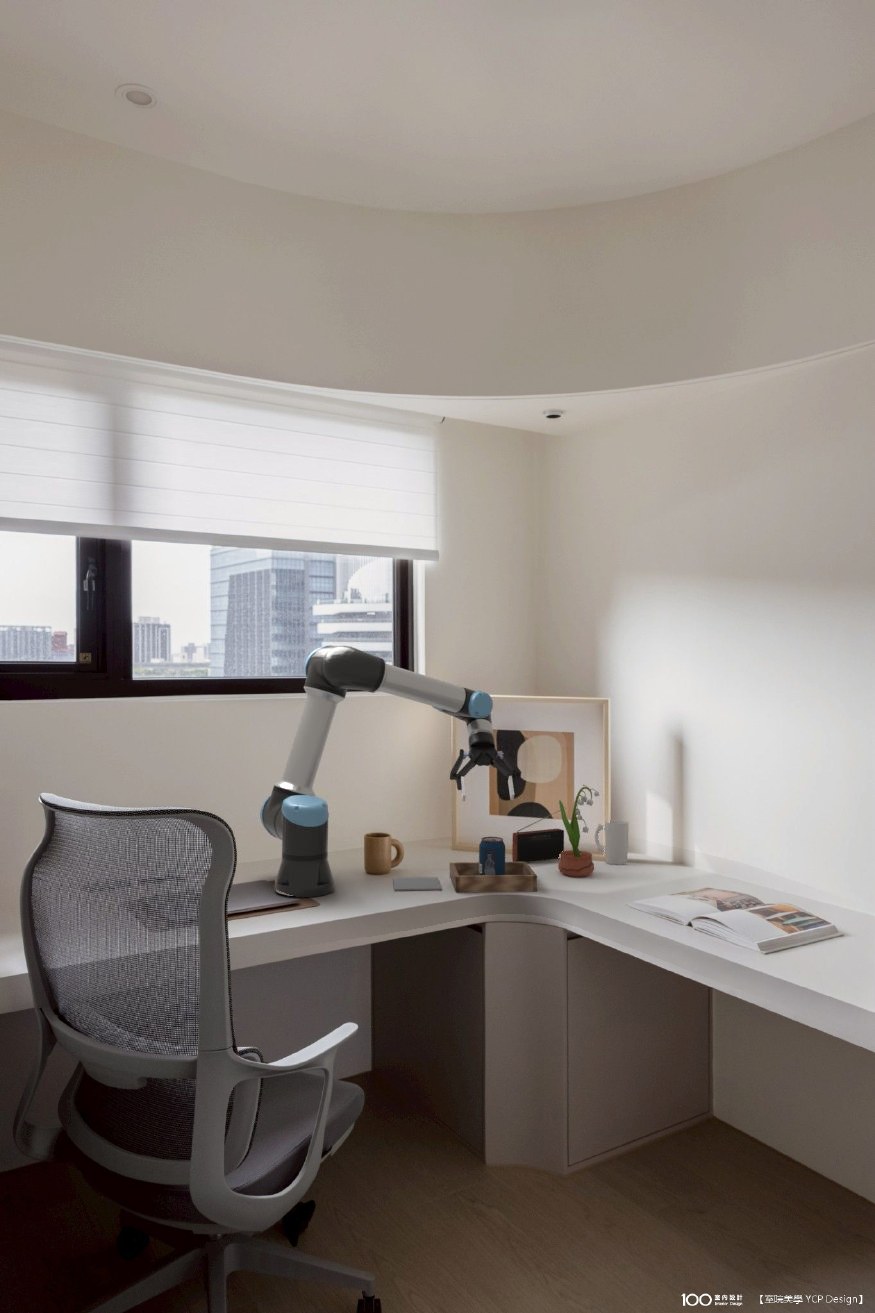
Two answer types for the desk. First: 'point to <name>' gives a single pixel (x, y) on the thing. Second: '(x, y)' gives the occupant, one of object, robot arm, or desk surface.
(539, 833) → the radio
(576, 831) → the potted flower
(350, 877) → the desk surface
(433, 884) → the grey mat
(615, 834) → the mug
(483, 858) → the soda can
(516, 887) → the walnut crate
